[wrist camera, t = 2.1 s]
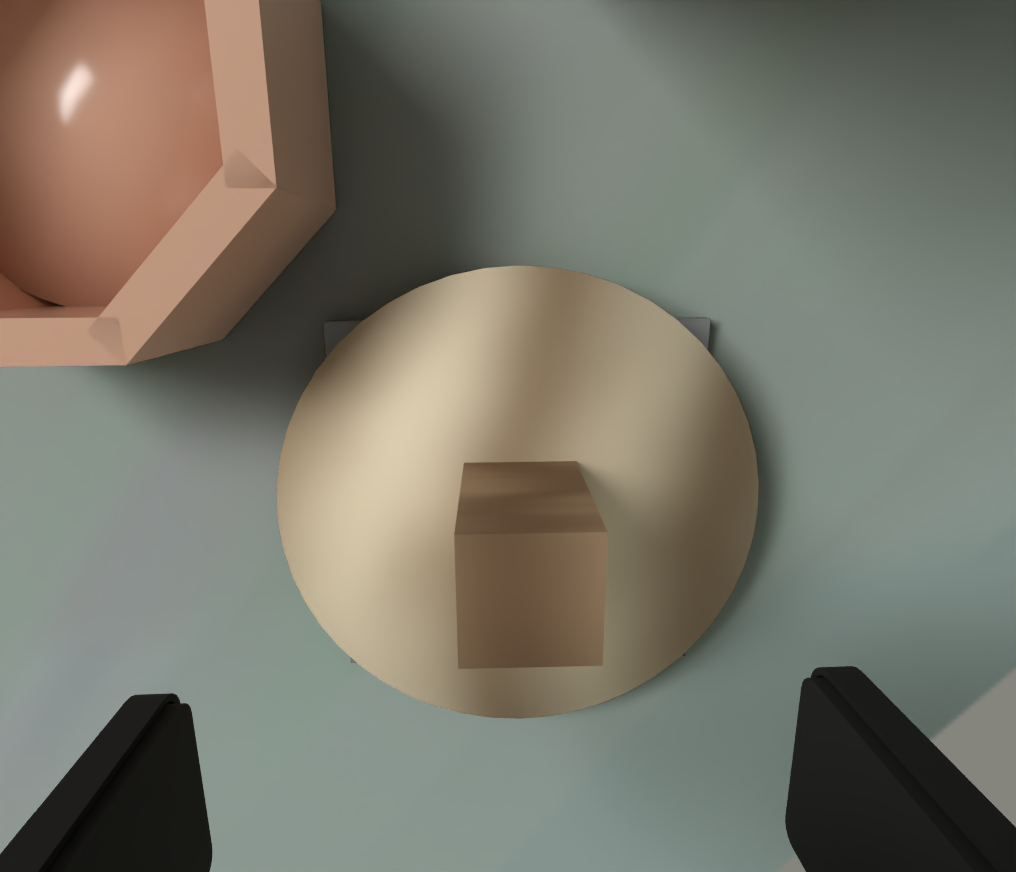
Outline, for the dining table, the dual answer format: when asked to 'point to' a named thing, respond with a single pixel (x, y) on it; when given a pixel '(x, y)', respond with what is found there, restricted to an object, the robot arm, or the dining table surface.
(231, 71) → the bowl
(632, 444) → the lid
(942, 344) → the dining table surface
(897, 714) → the robot arm
